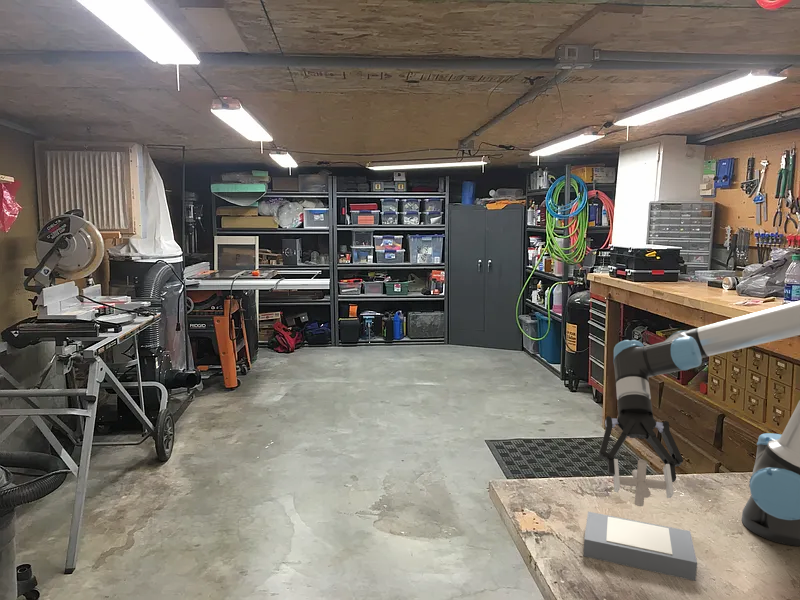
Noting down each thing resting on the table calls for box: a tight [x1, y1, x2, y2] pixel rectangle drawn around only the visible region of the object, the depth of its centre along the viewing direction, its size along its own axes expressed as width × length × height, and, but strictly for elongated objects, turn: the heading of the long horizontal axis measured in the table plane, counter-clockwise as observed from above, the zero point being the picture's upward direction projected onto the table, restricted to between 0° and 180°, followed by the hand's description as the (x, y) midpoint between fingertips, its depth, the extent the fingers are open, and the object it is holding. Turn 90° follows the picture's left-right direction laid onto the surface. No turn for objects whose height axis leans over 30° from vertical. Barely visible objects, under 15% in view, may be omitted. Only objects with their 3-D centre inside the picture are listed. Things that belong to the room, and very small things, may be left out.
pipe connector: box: [619, 459, 666, 507], centre depth 122 cm, size 10×10×10 cm
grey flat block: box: [582, 511, 698, 582], centre depth 123 cm, size 22×13×4 cm, turn 68°
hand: (643, 492), depth 119 cm, fingers closed on pipe connector, 10 cm apart
